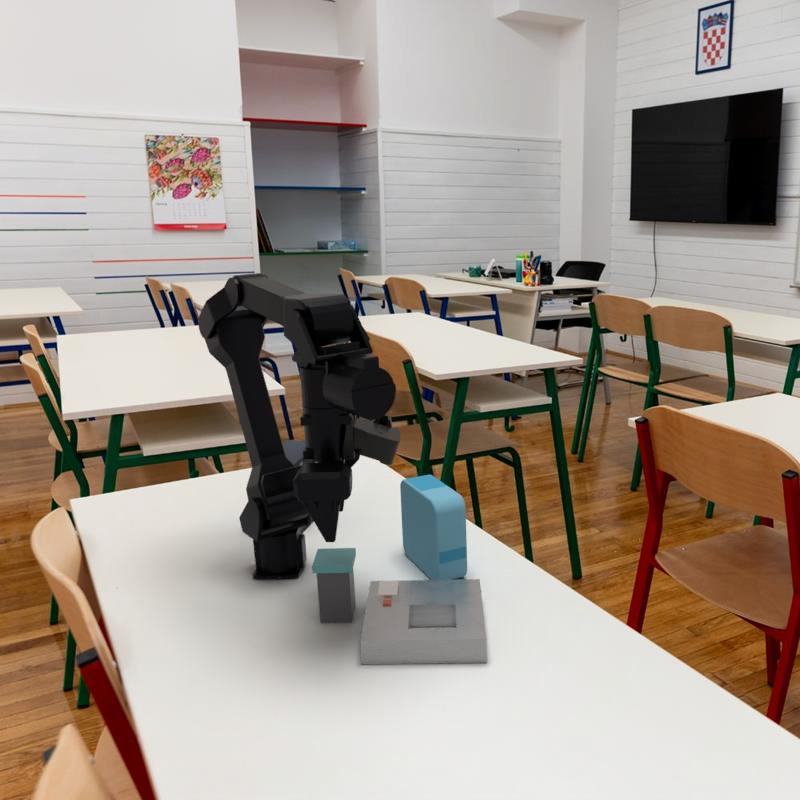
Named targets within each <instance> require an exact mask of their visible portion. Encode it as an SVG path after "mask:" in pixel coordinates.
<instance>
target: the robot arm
mask: <svg viewBox="0 0 800 800" xmlns="http://www.w3.org/2000/svg"><path fill="white" fill-rule="evenodd" d="M351 303H352V302H351V300H350V299H349V298H348V297H347V296H346V295H344V294H342V293H330V292H329V293H328V292H327V293H324V292H323V293H306V292H303V291H301V290H299V289H296V288H295V287H294V288H293V287H291V286H288V285H286V284H284V283H281V282H280V281H279V282H278V281H276V280H273V279H271V278H269V276H268V275H267V274H263V273H261V272H260V273H259V272H257V273H247V274H237V275H235V274H234V275H233V276H232V277H228V279H227V280H226V282H225V285H224V287H223V288H221V289H220V290H218V291H217V292H216V293H214V294H213V295H212V296H211V297H209V298H208V299H207V300H206V301H205V302H204V305H203V307H202V310H201V312H200V314H199V316H198V320H197V321H198V330H199V333H200V336H201V337H202V338H203V339H204V341H205V344H206V348H207V349H208V350H207V351H208V352H209V354H210V355H211V357H213V358H214V359H215V360H216V361H217V362H218V363H219V364H220V365H221V366H222V367H224V368H225V371H226V375H227V378H228V382H229V385H230V386H229V387H230V389H231V393H232V396H233V401H234V404H235V408H236V412H237V416H238V419H239V423H240V427H241V430H242V435H243V436H244V437H243V438H244V441H245V444H246V448H247V452H248V455H249V461H250V463H251V471H250V473H249V478H248V481H247V484H246V489H245V490H246V495H247V500H248V501H247V503H246V504H245V506H244V508H243V509H242V512H241V514H240V515H239V523H240V526H241V531H242V533H244V534H245V535H247V536H248V537H250V538H251V539H252V543H253V544H252V545H253V553H254V563H255V569H254V572H253V573H252V579H255V580H258V579H259V580H262V579H263V580H264V579H267V580H268V579H296V578H297V579H298V578H299V577H300V575H301V574H302V573H301V572H302V571H303V570H302V569H304V568H305V565H306V562H307V561H308V560H307V547H306V536H305V534H304V533H302V534H301V530H300V527H304V526H308V527H309V526H310V525H311V524H310V522H311V517H312V519H313V522H314V523H315V525H316V528H317V529H318V530H319V532H320V534H321V536H322V538H323V539H324V542H325V543H336V539H337V530H338V525H339V516H340V513H341V512H343V511H344V506H345V501H347V500H349V498H350V497H351V495H352V490H353V469H352V468H353V466H355V464H357V462H358V461H360V458H361V457H365V458H369V459H372V460H375V461H379V463H380V464H383V465H387V466H391V465H392V464H393V463H394V460H395V457H396V453H397V450H398V448H399V445H400V442H401V438H402V437H401V435H402V433H401V431H399V427H393V421H392V416H391V415H390V414H387V413H388V412H389V411H390V410H391V409H392V407H393V405H394V402H395V399H396V393H397V388H396V387H397V386H396V383H394V379H393V377H392V375H391V374H390V372H389V371H387V370H386V369H384V368H382V367H380V361H379V360H380V359H379V356H378V355H374V354H373V352H374V351H373V348H372V345H371V343H370V340H371V337H370V336H369V335H368V333H367V331H366V330H365V328H364V326H363V324H362V322H361V320H360V318H359V316H358V313H357V311H356V309H355V308H354V306H353V304H351ZM268 320H270V321H272V322H274V323H276V324H279V326H281V327H283V336H284V337H285V339H287V341H289V342H290V343H292V344H293V346H295V349H296V350H297V351H295V352H294V353H293V354H292V356H291V359H292V362H293V363H297V364H299V375H300V389H301V400H302V401H301V402H302V414H301V416H300V417H299V419H300V420H299V421H300V426H302V427H303V428H304V430H303V431H304V440H305V445H306V447H305V448H304V450H303V459H313V463H305V464H304V465H303V466H302V467H301V466H300V465H299V466H295V465H294V464H293V463H292V462H291V461H290V460H289V459H288V458H287V457H286V455H285V451H284V448H283V444H282V443H283V441H282V437H281V433H280V430H279V426H278V423H277V420H276V416H275V412H274V407H273V404H272V401H271V397H270V393H269V390H268V386H267V382H266V379H265V375H264V371H263V368H262V364H261V361H260V356H261V352H262V348H263V345H264V342H265V339H266V338H265V337H266V335H265V329H264V326H265V325H267V322H268ZM358 417H360V418H358Z"/></svg>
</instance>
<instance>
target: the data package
mask: <svg viewBox="0 0 800 800" xmlns="http://www.w3.org/2000/svg"><path fill="white" fill-rule="evenodd" d="M399 487H400V508H401V509H400V510H401V511H400V512H401V530H402V547H403V550H404V554H405V556H406V557H407V558H408V559H409V560H410V561H411V562H412V563H413V564H414V565H415V566H416V567H417V568H418V569H420V570H421V572H422V573H423V574H424V575H425V576H427V577H428V578H429V580H458V579H460V578H464V577H465V576H467V574H468V549H467V548H468V547H467V543H468V541H467V540H468V539H467V509H466V503H465V500H464V497H463V496H462V495H461V494H460V493H459V492H457V491H455V490H454V489H453V488H451V487H450V486H448V485H447V484H445V483H444V482H443V481H441V480H440V479H438V478H437V477H435V476H434V475H432V474H426V475H425V474H423V475H420V476H415V477H409V478H404V479H402V480H401V482H400V486H399Z"/></svg>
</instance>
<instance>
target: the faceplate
mask: <svg viewBox="0 0 800 800" xmlns="http://www.w3.org/2000/svg"><path fill="white" fill-rule="evenodd" d="M481 587H482V586H481V581H480V579H479V578H476V579H475V578H471V579H470V578H469V579H468V578H467V579H466V578H465V579H464V578H463V579H460V578H458V579H453V580H431V579H417V580H410V579H409V580H406V579H405V580H371V581H370V583H369V588H368V595H367V599H366V606H365V612H364V617H363V623H362V629H361V633H360V634H361V636H360V640H359V641H360V656H361V665H418V664H419V665H421V664H422V665H423V664H425V665H427V664H429V665H430V664H434V665H436V664H487V663H488V651H487V650H488V649H487V646H488V645H487V643H488V642H487V631H486V622H485V615H484V613H485V612H484V606H483V597H482V588H481ZM431 627H433V628H431ZM434 627H435V628H434ZM436 627H437V628H436ZM438 627H441V628H438ZM442 627H444V628H442ZM445 627H447V628H445ZM448 627H452V628H448ZM453 627H454V628H453Z"/></svg>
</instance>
